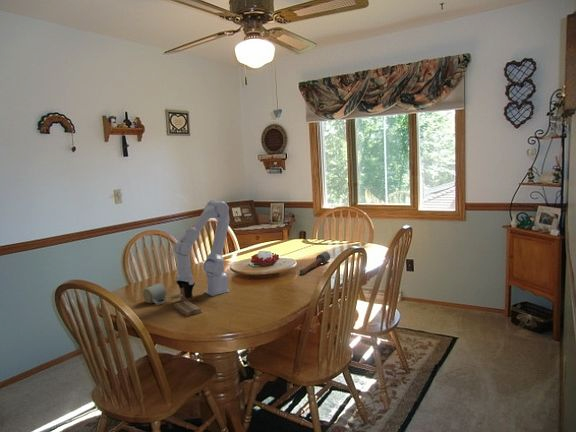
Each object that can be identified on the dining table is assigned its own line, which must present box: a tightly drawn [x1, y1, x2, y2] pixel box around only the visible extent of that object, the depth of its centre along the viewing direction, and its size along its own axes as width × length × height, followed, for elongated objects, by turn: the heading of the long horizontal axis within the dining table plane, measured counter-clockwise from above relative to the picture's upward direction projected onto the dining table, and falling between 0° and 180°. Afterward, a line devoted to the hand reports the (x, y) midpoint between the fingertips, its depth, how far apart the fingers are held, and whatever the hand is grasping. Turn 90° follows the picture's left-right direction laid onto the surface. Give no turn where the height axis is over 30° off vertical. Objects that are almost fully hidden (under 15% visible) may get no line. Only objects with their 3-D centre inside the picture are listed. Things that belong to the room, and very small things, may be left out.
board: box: [173, 301, 202, 317], centre depth 186 cm, size 6×14×2 cm, turn 36°
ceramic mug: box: [142, 282, 167, 305], centre depth 198 cm, size 11×8×8 cm
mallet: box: [299, 251, 331, 275], centre depth 244 cm, size 6×6×30 cm
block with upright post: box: [168, 287, 194, 302], centre depth 197 cm, size 10×4×6 cm, turn 126°
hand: (186, 296), depth 198 cm, fingers closed on block with upright post, 4 cm apart
